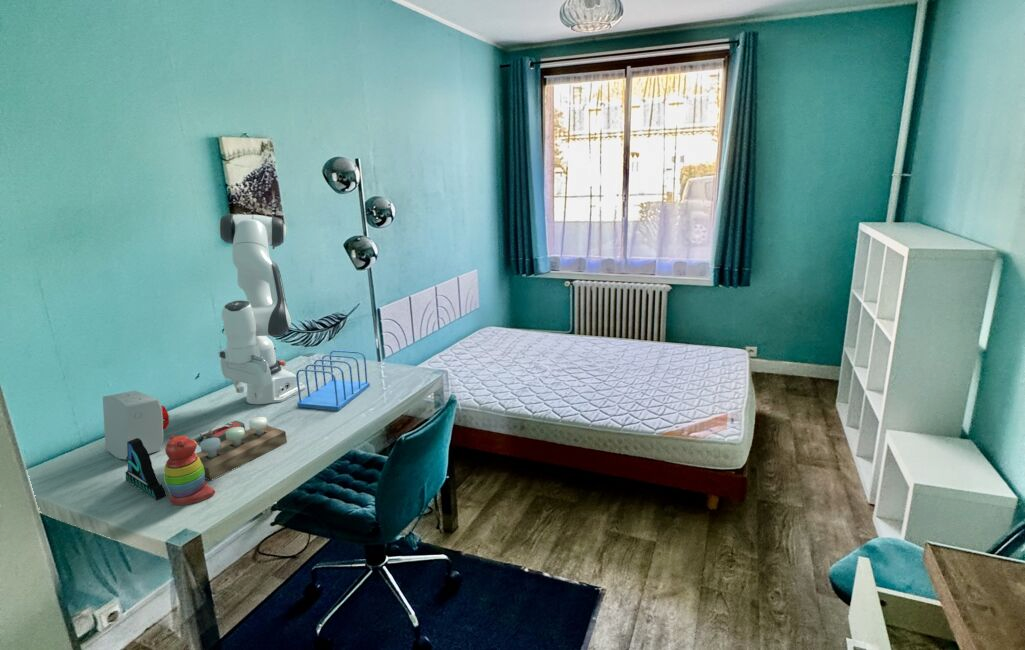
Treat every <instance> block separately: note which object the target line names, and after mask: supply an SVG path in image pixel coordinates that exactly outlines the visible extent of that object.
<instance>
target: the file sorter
mask: <svg viewBox="0 0 1025 650" xmlns="http://www.w3.org/2000/svg"><path fill="white" fill-rule="evenodd" d="M333 353H349V354H358V355H359V354H360V355H361V356H363V363H364V377H365V381H361V378H360V367H359V361H358V359H357V358H356V357H354V356H350V355H339V354H338V355H336V354H333ZM326 357H329V359H325V358H326ZM332 357H333V358H347V359H348V358H349V359H350V358H351V359H353V360H355V362H356V369H357V379H358V381H355V380H353V373H352V372H353V371H352V367H351V364H350V363H349V362H347V361H345V360H337V359H336V360H334V359H332ZM366 359H367V358H366V355H365V354H364V353H363V352H360V351H352V350H351V351H350V350H339V349H338V350H331V351H330V353H329V354H324V355H323V356H322V358H321V359H316V360H315V361H314V363H313V364H307V365H306V366H305V368H304V369H302V368H301V369H299V370H298V371H297V372H296V374H295V375H296V378H297V386H298V393H297V394H298V400H299V401H298V402H296V405H297V408H308V409H319V410H327V411H328V410H329V411H336V412H337V411H340V410H341V409H343V408H344V407H345V406H346V405H347V404H349V403H351V401H352V400H354V399H355V398H357V397H358V396H359V395H360V394H361V392H362V391H363V392H365V390H366V388H367V389H368V388H369V387H371V386H370V385H371V384H370V382H369V381H368V372H367V360H366ZM317 362H321V364H317ZM324 362H329V365H328V364H324ZM333 363H342V364H346V365H348V368H349V375H350V376H349V377H350V380H346V379H345V377H344V370H343V369H342V368H341V367H340V366H336V365H333ZM308 367H313V369H308ZM317 367H318V368H319V367H322V369H321V370H318V369H317ZM325 368H330V370H329V371H327V370H325ZM333 369H338V370H340V373H341V379H336V376H335V374H334V371H333ZM300 372H304V374H305V381H306V389H307V395H306V397H304V398H302V395H301V391H300V387H299V383H300V382H299V381H300V380H299V374H300ZM308 372H311V373H314V379H315V381H314V382H315V390H314V391H313V392H311V393H310V386H309V378H308ZM317 373H322V376H323V385H321V386H320V387H319V385H318V384H319V383H318V377H317ZM326 374H330V375H331V380H329V381H328V382H326V381H327V380H326ZM357 395H358V396H357Z"/></svg>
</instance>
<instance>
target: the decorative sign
mask: <svg viewBox="0 0 1025 650" xmlns="http://www.w3.org/2000/svg"><path fill="white" fill-rule="evenodd" d="M127 451H128V456H127V458H126V465H127V471H125V472H124V473H125V481H126V482H128V483H129V484H131V485H132V484H133V485H132V486H134V487H135V486H136V487H135V488H137V489H138V488H139V489H138V490H140V491H141V490H142V491H141V492H143V493H145V494H146V495H147V494H148V496H149V497H151V498H152V499H153V498H154V500H155V501H156V502H157V501H159V500H161V499H163V498H166V497H167V493H166V490H165V487H164V485H163V484H162V483H160V482H159V479H158V478H157V475H156V473H155V470H154V467H153V465H152V464H153V463H152V460H151V459H152V458H151V456H150V454H148V452H147V450H146V448H145V447H144V445H143V443H142V441H141V440H140V439H139V438H136V439H133V440H131V441H128V442H127Z"/></svg>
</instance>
